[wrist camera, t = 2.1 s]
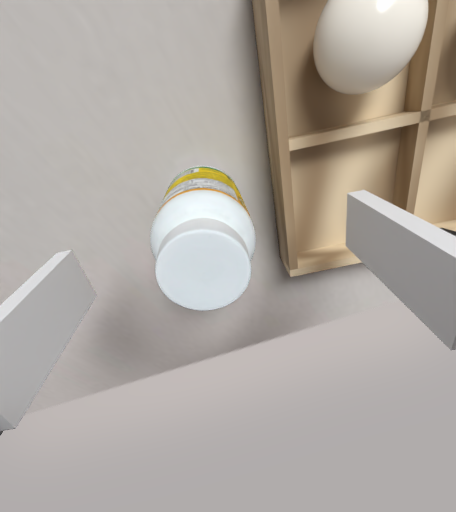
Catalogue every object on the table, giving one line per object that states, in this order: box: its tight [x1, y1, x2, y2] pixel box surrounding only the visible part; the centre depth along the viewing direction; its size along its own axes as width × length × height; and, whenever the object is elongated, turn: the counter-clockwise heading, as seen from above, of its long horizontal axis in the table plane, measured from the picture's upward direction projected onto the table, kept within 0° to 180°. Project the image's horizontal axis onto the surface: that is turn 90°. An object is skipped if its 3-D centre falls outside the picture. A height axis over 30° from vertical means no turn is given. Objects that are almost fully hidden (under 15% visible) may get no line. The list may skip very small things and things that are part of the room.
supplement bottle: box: [150, 166, 256, 311], centre depth 15 cm, size 5×5×10 cm
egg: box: [313, 0, 428, 95], centre depth 13 cm, size 5×5×5 cm
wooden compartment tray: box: [252, 0, 456, 277], centre depth 16 cm, size 18×18×3 cm
